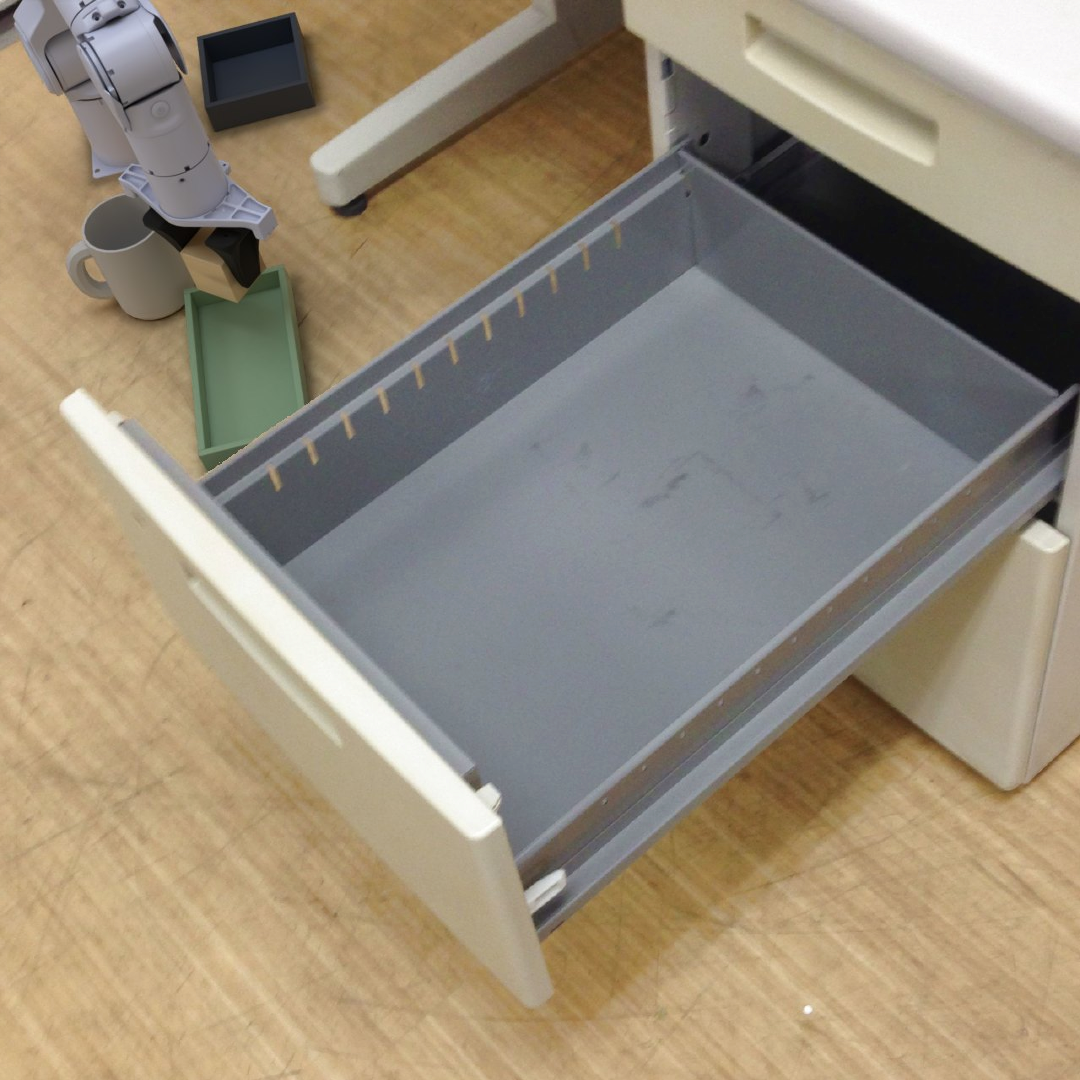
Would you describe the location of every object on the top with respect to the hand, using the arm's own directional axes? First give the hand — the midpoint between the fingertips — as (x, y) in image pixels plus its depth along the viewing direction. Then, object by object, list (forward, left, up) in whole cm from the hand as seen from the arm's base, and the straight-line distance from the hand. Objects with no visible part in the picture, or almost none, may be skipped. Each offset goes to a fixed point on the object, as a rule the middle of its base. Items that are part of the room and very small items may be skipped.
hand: (229, 271), depth 130 cm
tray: (+6, -1, -6) cm, 9 cm away
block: (0, 0, -1) cm, 1 cm away
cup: (-6, -10, -6) cm, 13 cm away
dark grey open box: (-31, +4, -6) cm, 32 cm away
